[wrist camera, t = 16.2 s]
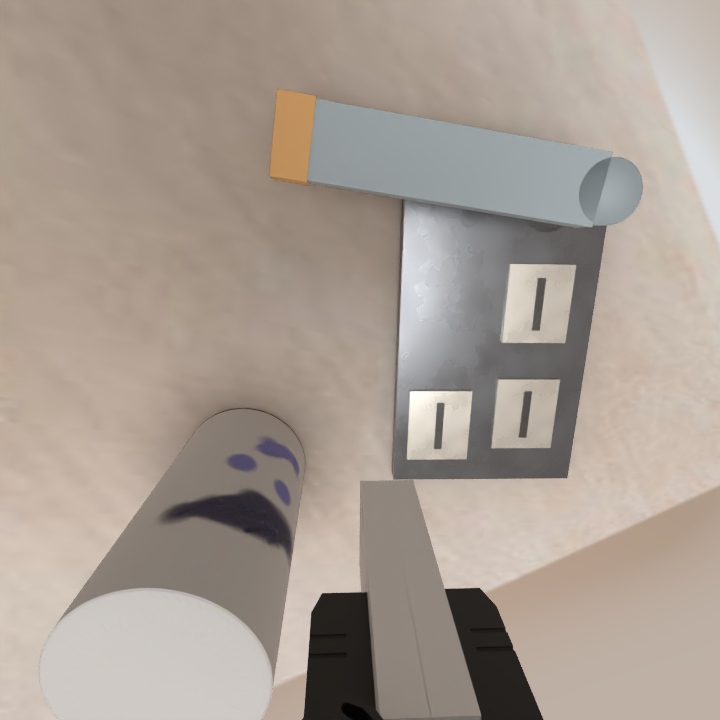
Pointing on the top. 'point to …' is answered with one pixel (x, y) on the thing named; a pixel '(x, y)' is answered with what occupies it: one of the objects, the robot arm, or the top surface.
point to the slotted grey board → (490, 343)
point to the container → (188, 587)
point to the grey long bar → (448, 164)
